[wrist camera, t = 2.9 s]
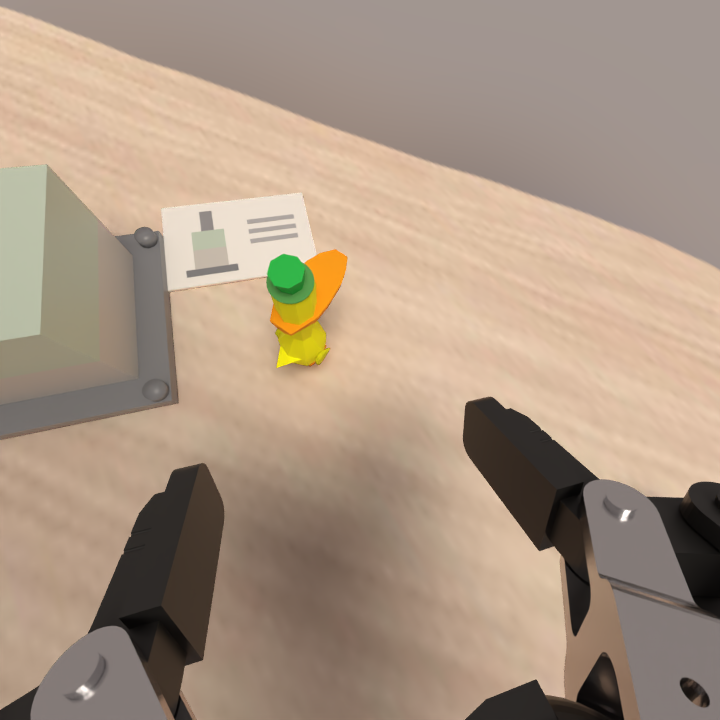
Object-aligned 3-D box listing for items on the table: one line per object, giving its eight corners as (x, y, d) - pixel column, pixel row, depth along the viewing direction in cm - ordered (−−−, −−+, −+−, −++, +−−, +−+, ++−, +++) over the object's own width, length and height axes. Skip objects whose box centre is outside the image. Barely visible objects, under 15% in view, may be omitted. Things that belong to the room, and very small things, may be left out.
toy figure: (319, 306, 26) (313, 185, 15) (355, 329, 26) (378, 225, 14) (266, 371, 24) (212, 289, 13) (305, 398, 24) (285, 338, 12)
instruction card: (169, 292, 25) (167, 290, 25) (162, 210, 27) (160, 207, 27) (319, 268, 27) (319, 267, 27) (302, 194, 29) (302, 192, 29)
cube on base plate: (-55, 450, 20) (-326, 442, 12) (-33, 264, 24) (-227, 157, 16) (178, 403, 23) (89, 366, 14) (164, 239, 27) (88, 133, 18)
